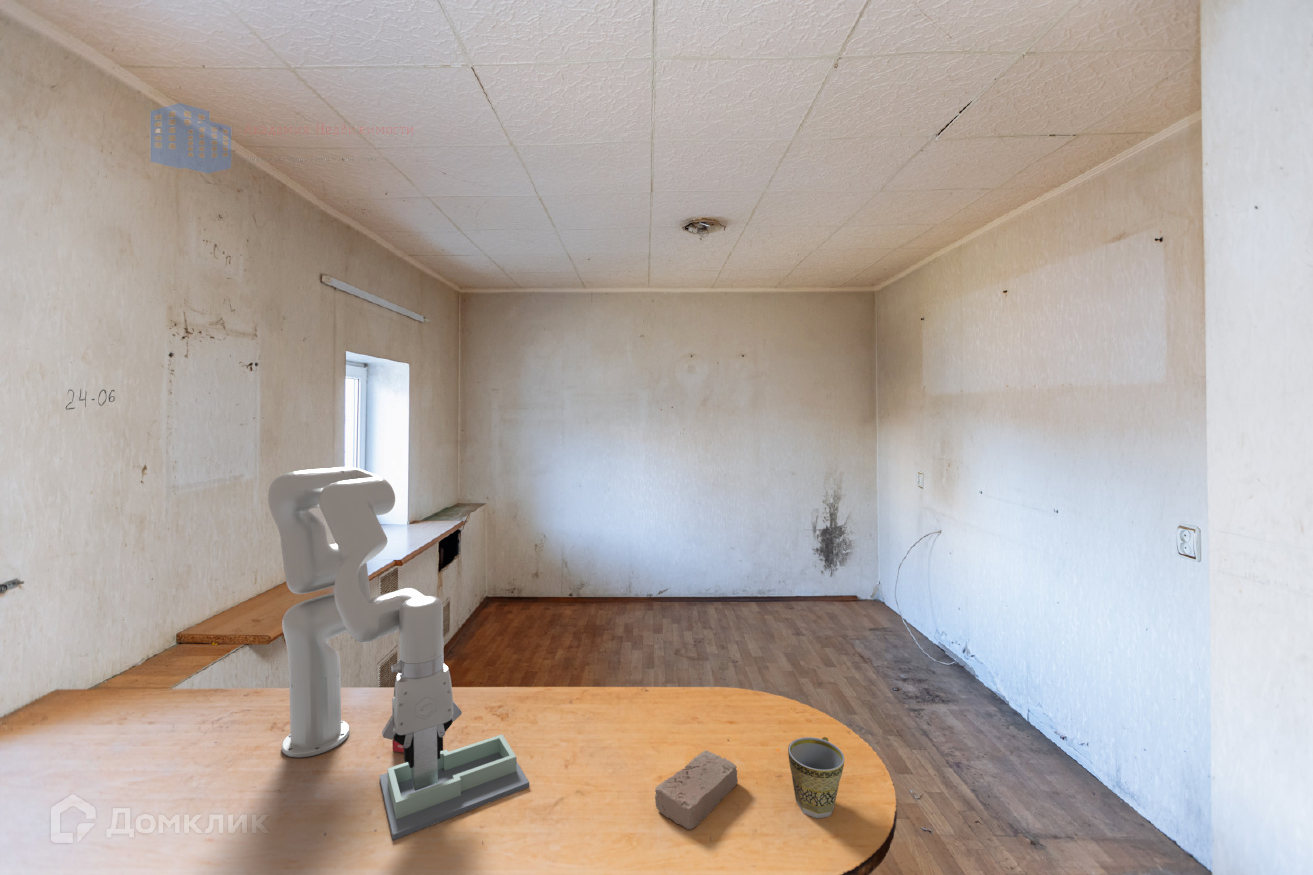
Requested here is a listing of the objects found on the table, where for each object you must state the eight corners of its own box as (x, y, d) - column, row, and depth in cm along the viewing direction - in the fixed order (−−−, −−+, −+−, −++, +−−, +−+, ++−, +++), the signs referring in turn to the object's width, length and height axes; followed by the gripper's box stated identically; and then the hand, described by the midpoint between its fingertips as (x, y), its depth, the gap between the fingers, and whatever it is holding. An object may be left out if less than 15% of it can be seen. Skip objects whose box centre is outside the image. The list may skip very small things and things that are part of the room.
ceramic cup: (835, 833, 93) (836, 777, 93) (779, 811, 99) (780, 757, 98) (852, 790, 104) (853, 739, 104) (801, 771, 110) (802, 723, 109)
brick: (704, 767, 111) (704, 744, 111) (739, 785, 106) (739, 761, 106) (653, 812, 99) (653, 787, 98) (690, 835, 93) (690, 809, 93)
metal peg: (411, 778, 103) (409, 717, 102) (433, 771, 105) (432, 710, 105) (414, 790, 99) (413, 727, 99) (437, 782, 102) (436, 720, 101)
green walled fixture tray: (379, 780, 106) (379, 760, 106) (500, 740, 120) (500, 722, 119) (392, 840, 91) (392, 817, 91) (529, 786, 105) (529, 766, 104)
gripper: (374, 684, 94) (376, 787, 94) (473, 660, 103) (474, 754, 104) (369, 668, 100) (371, 764, 101) (463, 646, 109) (464, 735, 110)
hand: (423, 758), depth 102 cm, fingers closed on metal peg, 4 cm apart
